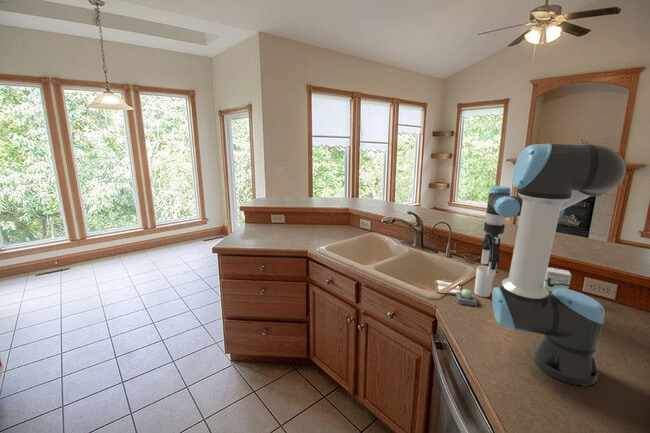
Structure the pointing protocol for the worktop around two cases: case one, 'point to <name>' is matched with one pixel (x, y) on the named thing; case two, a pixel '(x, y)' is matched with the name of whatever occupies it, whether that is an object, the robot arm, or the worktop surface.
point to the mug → (483, 282)
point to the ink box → (556, 279)
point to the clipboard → (444, 283)
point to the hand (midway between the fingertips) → (487, 269)
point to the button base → (466, 301)
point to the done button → (466, 294)
